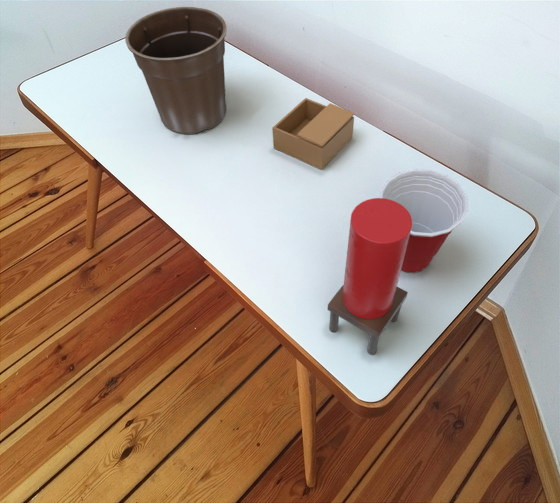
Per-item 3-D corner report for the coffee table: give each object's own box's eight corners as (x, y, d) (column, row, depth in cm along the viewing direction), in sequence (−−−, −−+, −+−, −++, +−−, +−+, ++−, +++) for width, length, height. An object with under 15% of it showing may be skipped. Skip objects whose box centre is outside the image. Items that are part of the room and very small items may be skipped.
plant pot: (136, 139, 91) (109, 55, 79) (163, 86, 101) (143, 4, 88) (225, 146, 89) (213, 61, 77) (244, 91, 99) (235, 8, 86)
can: (401, 292, 62) (423, 213, 51) (377, 328, 59) (394, 252, 48) (358, 269, 64) (370, 189, 53) (332, 303, 61) (339, 225, 51)
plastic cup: (353, 260, 73) (361, 201, 63) (398, 217, 78) (411, 156, 68) (419, 303, 68) (438, 246, 59) (462, 255, 73) (486, 195, 63)
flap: (354, 114, 86) (354, 112, 85) (322, 146, 81) (322, 144, 81) (329, 105, 87) (329, 103, 87) (297, 135, 83) (297, 133, 82)
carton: (352, 137, 89) (354, 116, 86) (321, 170, 85) (322, 149, 81) (305, 118, 93) (305, 97, 90) (273, 148, 88) (272, 127, 85)
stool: (400, 317, 67) (408, 292, 62) (373, 358, 63) (379, 334, 59) (354, 292, 70) (357, 265, 65) (325, 329, 66) (327, 304, 61)
